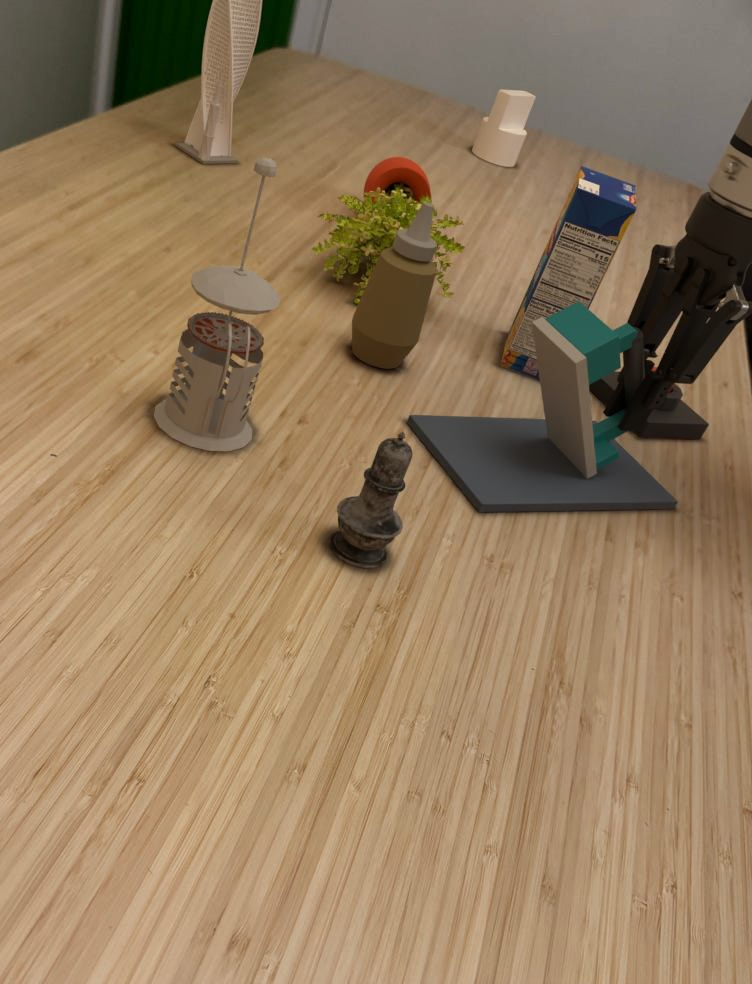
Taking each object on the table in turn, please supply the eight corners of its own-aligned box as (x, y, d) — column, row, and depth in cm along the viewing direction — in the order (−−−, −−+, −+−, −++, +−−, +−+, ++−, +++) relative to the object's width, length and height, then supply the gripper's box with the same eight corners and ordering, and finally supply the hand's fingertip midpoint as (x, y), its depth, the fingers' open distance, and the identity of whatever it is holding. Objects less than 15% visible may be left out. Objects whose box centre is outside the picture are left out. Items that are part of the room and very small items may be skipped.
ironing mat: (674, 509, 112) (678, 501, 112) (478, 512, 101) (482, 504, 100) (592, 427, 123) (595, 420, 122) (406, 422, 111) (409, 414, 111)
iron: (575, 363, 98) (664, 315, 97) (531, 321, 103) (616, 276, 103) (587, 479, 110) (666, 437, 110) (547, 437, 115) (623, 396, 115)
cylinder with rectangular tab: (489, 148, 210) (513, 84, 203) (523, 166, 206) (548, 102, 199) (463, 148, 205) (486, 83, 197) (497, 167, 201) (522, 101, 193)
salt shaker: (331, 521, 93) (372, 404, 86) (393, 542, 93) (440, 427, 86) (320, 556, 89) (363, 436, 81) (385, 578, 89) (434, 461, 81)
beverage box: (500, 366, 129) (578, 188, 115) (507, 334, 138) (581, 165, 124) (551, 385, 129) (636, 209, 115) (556, 352, 137) (635, 185, 123)
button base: (700, 439, 128) (717, 411, 126) (639, 438, 124) (656, 408, 121) (643, 388, 136) (658, 360, 133) (584, 385, 132) (598, 356, 129)
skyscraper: (168, 141, 161) (207, -69, 143) (208, 141, 166) (249, -61, 148) (202, 163, 157) (246, -49, 140) (241, 163, 162) (288, -42, 145)
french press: (245, 403, 105) (313, 150, 89) (263, 468, 97) (342, 201, 81) (149, 389, 102) (202, 125, 86) (159, 455, 94) (220, 175, 78)
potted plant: (305, 226, 165) (299, 299, 127) (328, 130, 158) (330, 177, 120) (420, 257, 167) (448, 338, 129) (449, 163, 159) (488, 221, 122)
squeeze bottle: (381, 380, 117) (437, 224, 106) (328, 347, 120) (377, 191, 109) (421, 368, 123) (478, 217, 111) (370, 335, 126) (420, 186, 114)
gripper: (664, 167, 100) (556, 383, 115) (768, 235, 90) (636, 461, 105) (718, 177, 103) (607, 386, 118) (825, 245, 94) (689, 463, 109)
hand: (621, 421), depth 112 cm, fingers closed on iron, 2 cm apart
